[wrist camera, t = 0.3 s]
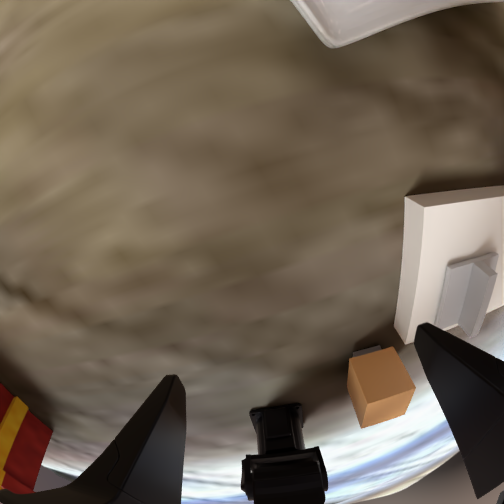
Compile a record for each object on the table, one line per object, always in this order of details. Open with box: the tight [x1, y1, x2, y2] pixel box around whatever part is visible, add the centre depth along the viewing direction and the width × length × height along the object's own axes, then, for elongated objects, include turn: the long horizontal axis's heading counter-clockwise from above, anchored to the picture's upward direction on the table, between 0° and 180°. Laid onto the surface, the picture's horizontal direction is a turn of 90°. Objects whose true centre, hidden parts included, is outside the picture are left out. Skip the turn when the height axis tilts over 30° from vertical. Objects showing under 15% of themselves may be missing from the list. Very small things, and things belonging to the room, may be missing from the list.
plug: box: [347, 345, 416, 429], centre depth 26 cm, size 5×5×8 cm
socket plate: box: [394, 185, 504, 345], centre depth 22 cm, size 14×18×3 cm
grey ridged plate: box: [434, 252, 499, 338], centre depth 20 cm, size 7×7×3 cm
